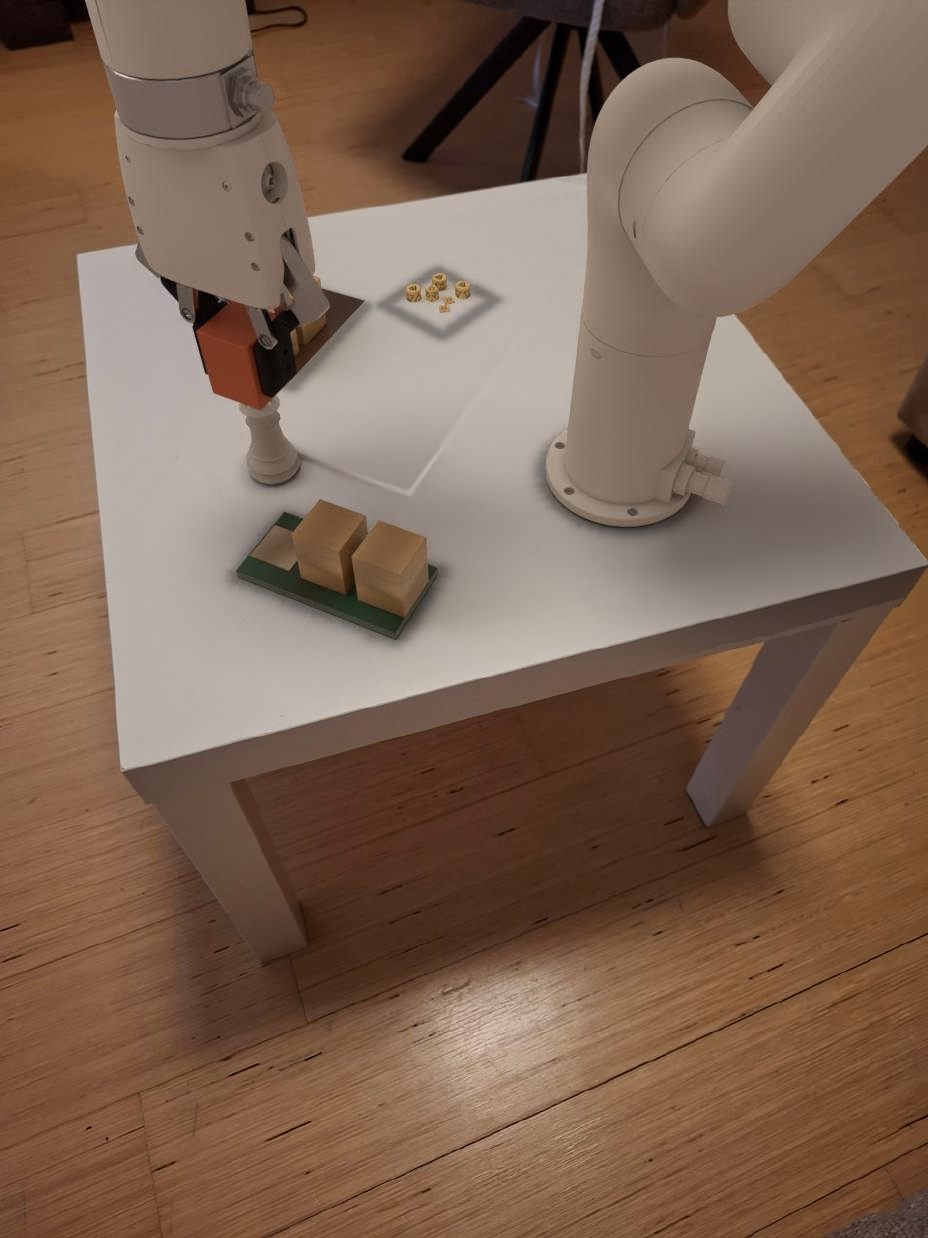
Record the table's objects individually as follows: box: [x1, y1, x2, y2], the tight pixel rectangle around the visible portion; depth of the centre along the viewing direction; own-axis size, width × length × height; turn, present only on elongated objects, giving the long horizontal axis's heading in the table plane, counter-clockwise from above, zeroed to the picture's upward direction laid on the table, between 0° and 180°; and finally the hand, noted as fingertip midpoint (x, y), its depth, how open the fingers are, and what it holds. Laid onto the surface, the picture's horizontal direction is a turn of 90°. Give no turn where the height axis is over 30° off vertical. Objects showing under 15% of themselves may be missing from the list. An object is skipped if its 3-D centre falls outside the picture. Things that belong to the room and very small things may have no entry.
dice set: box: [405, 272, 471, 314], centre depth 92 cm, size 5×5×2 cm
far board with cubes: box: [267, 275, 365, 381], centre depth 87 cm, size 7×14×6 cm, turn 154°
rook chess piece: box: [238, 395, 301, 486], centre depth 75 cm, size 4×4×8 cm
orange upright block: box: [197, 300, 285, 410], centre depth 61 cm, size 4×4×5 cm
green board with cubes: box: [235, 498, 439, 640], centre depth 69 cm, size 14×7×6 cm, turn 64°
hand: (251, 372), depth 62 cm, fingers closed on orange upright block, 4 cm apart
